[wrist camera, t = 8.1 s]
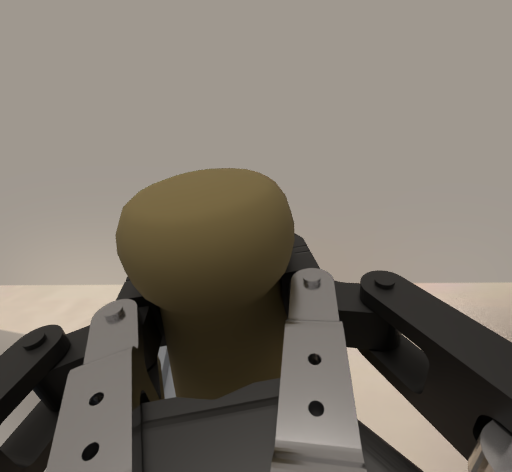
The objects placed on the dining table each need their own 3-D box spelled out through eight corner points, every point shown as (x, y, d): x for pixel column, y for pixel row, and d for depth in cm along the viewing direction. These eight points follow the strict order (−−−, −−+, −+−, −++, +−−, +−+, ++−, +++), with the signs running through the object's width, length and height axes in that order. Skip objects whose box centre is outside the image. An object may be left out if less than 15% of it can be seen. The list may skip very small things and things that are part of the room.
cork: (158, 414, 13) (51, 195, 8) (250, 336, 17) (216, 148, 12) (245, 540, 9) (143, 264, 4) (341, 402, 13) (352, 160, 8)
